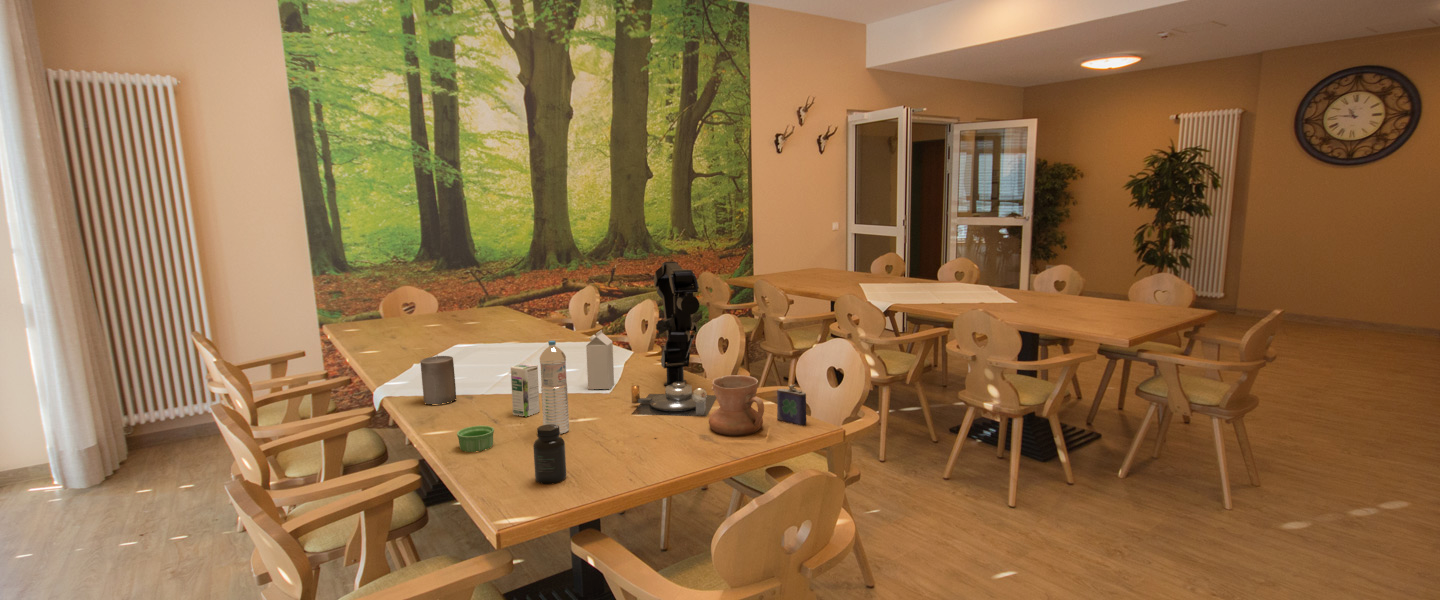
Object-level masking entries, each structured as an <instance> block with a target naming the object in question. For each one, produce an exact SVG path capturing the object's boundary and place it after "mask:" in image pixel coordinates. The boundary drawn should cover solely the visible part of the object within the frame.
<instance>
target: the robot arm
mask: <svg viewBox="0 0 1440 600" xmlns="http://www.w3.org/2000/svg"><path fill="white" fill-rule="evenodd" d="M653 285H654V287H655V289H656V294H658V296H659V297H660V299H662V306H663V307H662V308H663V314H664V318H661V319H660V320H657V322H656V324H655V330H657V331H658V333H659V335H660V334H663V333H664V332H666V342H665V344H664V346H663V350H662V353H661V357H660V363H661V364H660V365H661V367H662V368H663V369H666V381H665V382H664V384H663V386H665V387H666V386H668V385H671V384H673V383H674V382H684V383H685V384H687V383H686V382H687V380H686V379H684V377H685V376H684V375H685V374H684V372H685V371H684V367H687V368H688V367H689V365H690V357H691V353H690V349H691V346H692V344H693V341H694V339H695V337H696V336H695V335H694V334H691V331H693V332H694V333H698V332H699V324H697V323H696V322H693V316H694V315H695V314H696V313H697V312H698V311H699V309H700V307H701V306H700V302H699V300H698V298H697V297H696V296H694V293H699V286H700V285H699V283H698V278H697V276H696V274H695V272H693V270H692V269H685V268H682V267H681V265H679V263H678V261H676V260H675V261H664V262H662V263H661V266H660V267H659V268H658V269H657V270H655V272H654V277H653Z"/></svg>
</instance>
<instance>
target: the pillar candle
mask: <svg viewBox="0 0 1440 600" xmlns="http://www.w3.org/2000/svg"><path fill="white" fill-rule="evenodd" d="M419 363H420V371H421V385H422V393H423V394H422V395H423V403H424V402H425V403H426V404H442V403H447V402H451V401H454V400H455V399H457V391H456V390H457V389H456V377H455V375H456V374H455V364H454V357H453V356H451V355H438V354H437V355H436V356H430V357H426V358H423V359H420V361H419ZM454 402H455V401H454ZM426 404H425V405H426Z"/></svg>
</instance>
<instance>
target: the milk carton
mask: <svg viewBox="0 0 1440 600" xmlns="http://www.w3.org/2000/svg"><path fill="white" fill-rule="evenodd" d="M589 340H590V342H589V343H587V344H586V346H585V347H586V350H585V351H586V367H587V369H586V370H587V371H586V372H587V373H586V374H587V389H588V390H594V389H609V390H610V389H612V387H613V386H614V385H615V376H614V375H615V374H614V373H615V372H614V369H615V368H614V348H613V347H614V346H613V345H614V344H613V343H614V342H613V340H612V339H611V338H609V337H608V336H607V335H606V334H604V332H603V329H600V330H599V331H598V332H596V333H595V334H593V335H591V336H590V337H589Z"/></svg>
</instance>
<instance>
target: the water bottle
mask: <svg viewBox="0 0 1440 600" xmlns="http://www.w3.org/2000/svg"><path fill="white" fill-rule="evenodd" d="M566 361H567V355H566V353H564V351H563V350H561V348H559V347H558V346H556V340H549V341H548V347H546V348H545V349H544V350H543V351H542V352H541V355H540V356H539V363H540V379H541V380H540V382H541V384H540V385H541V387H540V389H541V391H540V392H541V406H542V407H541V408H542V425H548V424H555V425H558V426H559V430H560V435H563V433H564V434H566V433H568V432H569V430H570V418H569V397H568V396H569V395H568V384H567V366H566V365H567V364H566Z"/></svg>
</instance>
